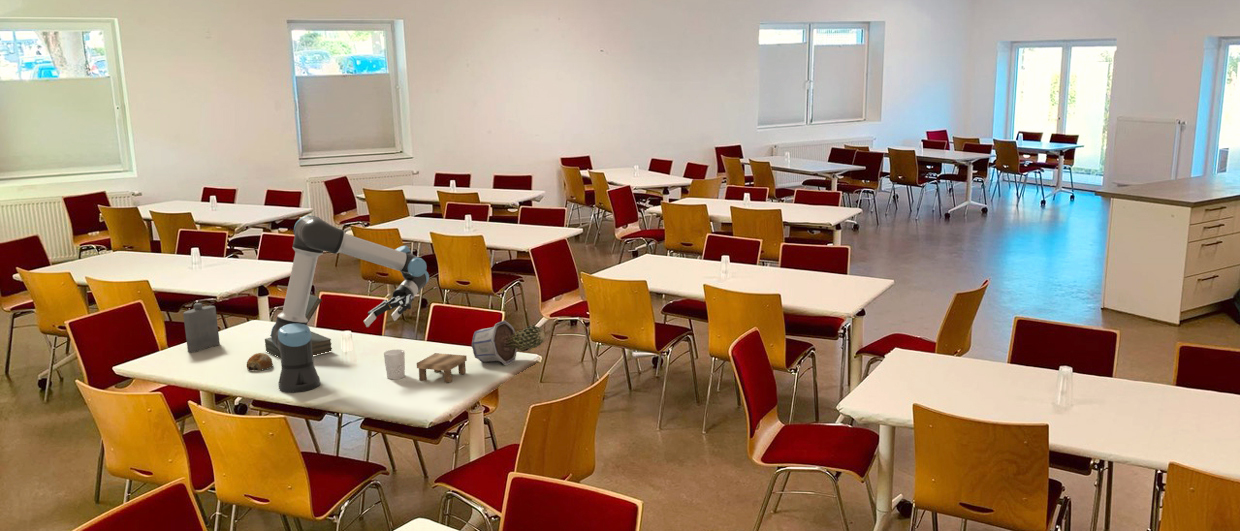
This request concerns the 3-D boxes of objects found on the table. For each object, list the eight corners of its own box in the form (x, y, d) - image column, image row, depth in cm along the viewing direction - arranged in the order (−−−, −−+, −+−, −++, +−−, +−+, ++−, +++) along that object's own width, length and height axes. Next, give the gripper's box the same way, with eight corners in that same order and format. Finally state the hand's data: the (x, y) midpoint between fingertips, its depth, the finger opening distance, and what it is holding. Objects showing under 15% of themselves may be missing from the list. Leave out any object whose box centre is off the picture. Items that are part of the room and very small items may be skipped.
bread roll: (274, 376, 394) (280, 357, 395) (251, 371, 386) (257, 352, 387) (262, 372, 401) (268, 353, 402) (240, 367, 393) (246, 348, 394)
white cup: (410, 375, 378) (408, 351, 376) (395, 381, 372) (394, 356, 370) (396, 372, 382) (394, 348, 380) (381, 378, 376) (379, 353, 374)
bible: (266, 352, 417) (260, 296, 412) (308, 343, 430) (303, 288, 425) (288, 363, 401) (282, 304, 396) (332, 353, 413) (327, 296, 408)
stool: (417, 380, 372) (416, 363, 370) (436, 369, 384) (435, 353, 383) (449, 383, 367) (448, 366, 365) (467, 372, 380) (466, 355, 378)
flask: (213, 342, 434) (208, 299, 430) (222, 344, 431) (217, 300, 427) (184, 351, 422) (178, 306, 418) (192, 352, 419) (187, 308, 415)
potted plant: (462, 331, 386) (527, 318, 374) (484, 322, 402) (547, 309, 391) (473, 373, 387) (538, 361, 375) (494, 362, 403) (557, 351, 392)
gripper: (433, 295, 387) (409, 323, 369) (385, 306, 397) (359, 334, 380) (425, 279, 384) (400, 306, 366) (376, 291, 394) (350, 318, 377)
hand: (379, 321), depth 373 cm, fingers open, 13 cm apart
